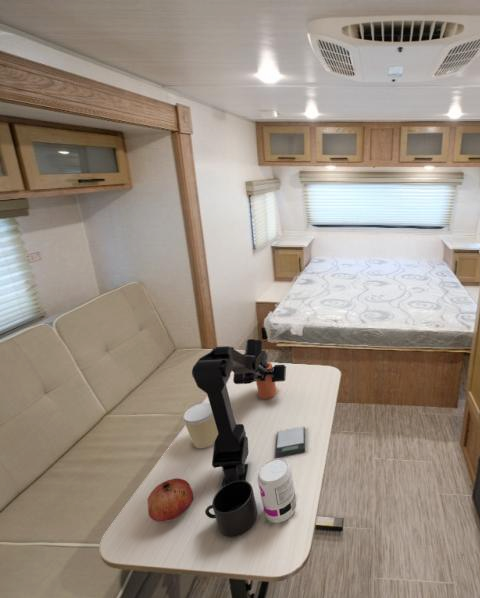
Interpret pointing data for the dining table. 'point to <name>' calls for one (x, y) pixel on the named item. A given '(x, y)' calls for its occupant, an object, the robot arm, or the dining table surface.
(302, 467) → the dining table surface
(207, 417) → the coffee cup
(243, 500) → the mug
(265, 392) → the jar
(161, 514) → the fruit
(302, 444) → the scale
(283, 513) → the supplement can
